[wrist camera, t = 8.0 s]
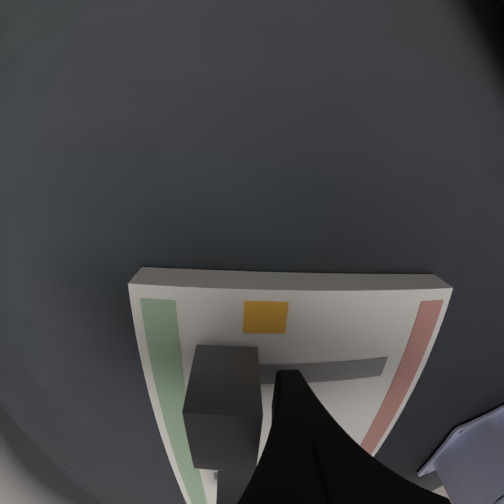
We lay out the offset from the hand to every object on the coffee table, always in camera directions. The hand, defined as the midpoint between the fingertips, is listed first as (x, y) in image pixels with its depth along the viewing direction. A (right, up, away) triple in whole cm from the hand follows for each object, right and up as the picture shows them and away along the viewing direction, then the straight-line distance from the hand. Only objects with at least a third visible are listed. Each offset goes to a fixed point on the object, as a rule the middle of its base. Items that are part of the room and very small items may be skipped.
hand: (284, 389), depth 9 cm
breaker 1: (-2, 0, 0) cm, 2 cm away
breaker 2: (-2, -8, +3) cm, 9 cm away
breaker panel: (0, -8, +5) cm, 9 cm away
